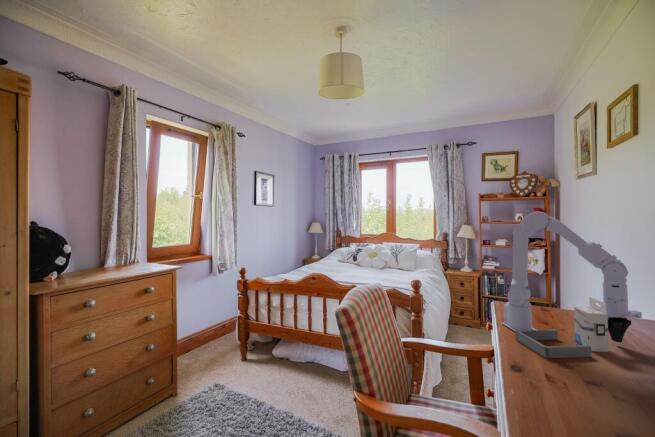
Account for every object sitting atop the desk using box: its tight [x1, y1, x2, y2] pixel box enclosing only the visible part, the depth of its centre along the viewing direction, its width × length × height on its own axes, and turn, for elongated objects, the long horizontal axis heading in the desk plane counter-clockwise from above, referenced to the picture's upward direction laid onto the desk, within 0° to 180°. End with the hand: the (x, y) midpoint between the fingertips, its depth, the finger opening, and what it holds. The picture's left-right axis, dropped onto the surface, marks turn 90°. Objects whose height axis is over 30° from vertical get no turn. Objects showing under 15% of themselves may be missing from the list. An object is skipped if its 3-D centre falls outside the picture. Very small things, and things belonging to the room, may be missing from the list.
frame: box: [515, 329, 593, 359], centre depth 96 cm, size 14×14×3 cm
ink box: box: [573, 296, 609, 353], centre depth 96 cm, size 9×5×15 cm, turn 168°
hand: (616, 341), depth 96 cm, fingers closed
